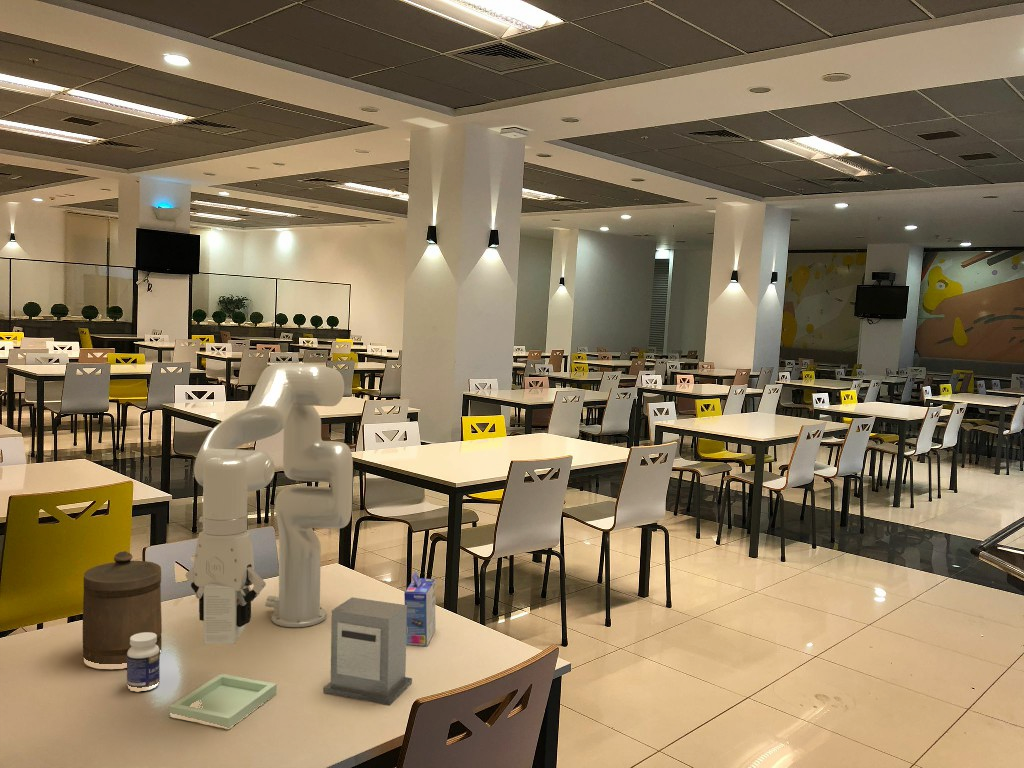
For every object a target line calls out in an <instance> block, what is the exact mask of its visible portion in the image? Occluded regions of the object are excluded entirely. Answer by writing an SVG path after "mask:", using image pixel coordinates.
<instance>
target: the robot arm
mask: <svg viewBox="0 0 1024 768" xmlns="http://www.w3.org/2000/svg"><path fill="white" fill-rule="evenodd" d="M344 393H345V381H344V378H343V375H342V374H341V372H340V371H339V370H337V369H335V368H332V367H328V366H325V365H321V364H316V363H315V364H313V363H290V362H289V363H288V362H278V363H273V364H270V365H268V366H266V368H264V370H263V371H262V372H261V374H260V376H259V377H258V381H257V382H256V385H255V386H254V389H253V391H252V393H251V394H250V398H249V399H248V401H247V404H246V406H245V408H244V409H243V408H242V409H241V410H239V411H237V412H236V413H234V414H232V415H231V416H228V417H227V418H225V419H224V420H223V421H221V422H219V423H218V424H216V425H215V426H214V427H213V428H212V429H211V430H210V431H209V432H208V434H207V436H206V437H205V438H204V440H203V443H202V445H201V446H200V449H199V451H198V453H197V456H196V458H195V461H194V466H193V474H194V475H193V476H194V478H195V480H196V482H197V484H199V485H200V486H202V488H203V490H202V491H203V492H202V495H203V496H202V497H203V498H202V499H203V500H202V501H203V503H202V505H203V506H202V507H203V511H202V512H203V513H202V514H203V515H201V516H200V517H199V519H198V523H199V524H202V525H203V526H202V531H200V532H199V533H198V537H197V540H196V545H195V553H194V559H193V567H192V568H191V569H190V570H188V571H187V572H186V573H185V578H186V579H187V581H188V583H189V584H190V587H191V588H192V590H193V591H194V593H195V597H196V598H197V599H198V613H199V614H198V616H199V621H202V622H204V587H205V585H206V584H216V585H222V586H228V587H233V588H234V591H235V592H237V598H238V600H239V603H240V604H239V605H237V626H238V627H242V626H243V625H245V626H246V625H247V624H249V623H250V622H251V618H252V602H253V601H254V600H255V599H256V598H257V597H258V596H260V593H261V592H262V590H263V589H264V588H265V587H266V585H267V584H266V582H265V581H264V579H263V578H262V577H261V576H260V575H259V574H258V573H257V572H256V571H255V559H254V549H253V543H252V537H251V533H250V532H248V492H256V491H260V490H262V489H264V488H266V487H267V486H269V484H270V483H271V481H272V480H273V478H274V476H275V470H276V469H275V462H274V460H273V458H272V456H271V455H269V454H268V453H267V452H265V451H261V450H254V449H253V450H252V449H237V448H238V447H240V446H243V445H244V446H245V445H246V444H249V443H253V442H257V441H260V440H264V439H267V438H271V437H272V436H275V435H277V434H279V433H280V432H281V431H282V430H283V444H282V445H283V448H282V449H283V450H282V452H283V453H282V462H283V463H282V465H283V472H284V475H285V477H287V478H288V479H289V480H293V481H301V482H316V483H317V482H320V483H321V482H322V483H328V484H329V486H330V487H329V486H328V487H326V486H325V487H324V486H311V485H309V486H307V485H293V486H287V487H285V488H283V489H281V491H279V493H278V494H277V496H276V498H275V502H274V503H275V506H274V509H275V515H276V521H277V528H278V545H279V546H278V547H279V548H278V554H279V555H278V558H279V559H278V596H276V595H268V596H267V598H266V601H265V604H264V605H265V607H268V608H273V609H274V611H273V612H272V613H271V621H272V622H273V623H274V624H275V625H276V626H280V627H286V628H305V627H311V626H314V625H318V624H320V623H321V622H323V621H324V620H326V619H327V610H326V609H325V608H324V607H323V606H321V567H322V566H321V565H322V564H321V558H322V557H321V553H322V552H321V551H322V547H321V542H320V539H319V537H318V535H317V533H316V532H315V531H314V529H332V530H333V529H335V530H337V529H344V528H345V527H346V526H348V525H349V523H350V521H351V517H352V512H353V511H352V510H353V476H354V474H353V473H354V472H353V470H354V465H353V462H354V459H353V453H352V451H351V449H350V446H349V445H347V444H346V443H345V442H342V441H335V440H334V441H332V440H329V441H328V440H323V439H322V419H321V417H320V414H319V412H318V410H317V408H316V407H335V406H337V405H338V404H339V403H340V402H341V401H342V399H343V398H344ZM315 406H316V407H315ZM252 585H253V587H252V589H251V587H250V586H252ZM242 590H243V591H244V593H245V595H244V593H243V591H242Z"/></svg>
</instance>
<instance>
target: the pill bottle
mask: <svg viewBox="0 0 1024 768" xmlns="http://www.w3.org/2000/svg"><path fill="white" fill-rule="evenodd" d="M156 642H157V635H156V634H155V633H150V632H144V633H138V634H135V635H133V636H131V637H130V645H131V646H132V647H131V648H130V649H129V650H128V652H127V669H126V685H127V684H128V685H129V686H131V687H137V688H142V687H149V686H152V685H155V684H157V683H158V682H159V683H160V681H159V680H160V678H161V677H160V674H161V673H160V670H161V669H160V655H161V653H160V650H159V647H158V646H157V645H156V644H155V643H156Z"/></svg>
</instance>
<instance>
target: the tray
mask: <svg viewBox="0 0 1024 768" xmlns="http://www.w3.org/2000/svg"><path fill="white" fill-rule="evenodd" d="M273 696H274V697H275V696H277V683H274V682H269V681H262V680H257V679H252V678H245V677H242V676H241V677H240V676H235V675H230V674H225V673H220V674H218V675H216V676H215V677H213V678H212V679H210V680H209V681H207V682H205V683H204V684H202V685H201V686H199V687H198V688H196V689H194V690H193V691H191V692H190V693H188V694H186V695H184V696H183V697H181V698H180V699H178V700H177V701H175V702H173V704H171V705H169V707H168V708H169V710H168V711H169V712H170V713H172V714H177V715H181V716H185V717H188V718H194V719H197V720H202V721H205V722H209V723H213V724H217V725H220V726H224V727H227V728H230V727H231V726H232V725H234V724H235V723H237V722H238V721H240V720H241V719H242V718H243V717H245V716H246V715H247V714H249V713H250V712H252V711H253V710H254V709H256V708H257V707H258V706H259V705H261V704H262V703H264V702H266V701H267V700H268V699H270V698H271V699H273V698H274V697H273ZM272 697H273V698H272ZM271 699H270V700H271ZM198 700H199V702H200V700H201V702H202V704H201V705H200V704H199V705H200V706H201V707H200V708H195V707H190V705H191V704H192V703H194V702H196V701H198ZM201 702H200V703H201ZM267 702H268V701H267ZM267 702H266V703H267ZM202 706H203V708H202ZM198 707H199V706H198ZM201 708H202V709H201ZM240 722H241V721H240Z"/></svg>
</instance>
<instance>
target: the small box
mask: <svg viewBox="0 0 1024 768" xmlns="http://www.w3.org/2000/svg"><path fill="white" fill-rule="evenodd" d="M242 591H243V590H242ZM243 593H244V591H243ZM244 595H245V593H244ZM239 604H240V603H239V600H238V598H237V592H235V591H234V588H233V587H228V586H222V585H216V584H206V585H205V587H204V621H203V645H235V643H236V642H237V641H238V639H239V637H240V636H241V635H242V632H243V631H244V630H245V628H246V624H245V625H243V626H242V627H238V626H237V605H239Z"/></svg>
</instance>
